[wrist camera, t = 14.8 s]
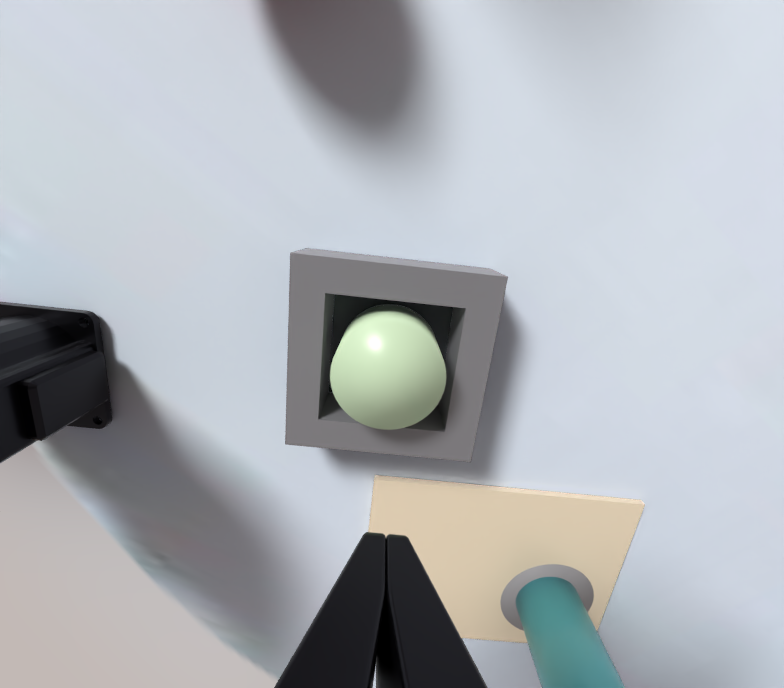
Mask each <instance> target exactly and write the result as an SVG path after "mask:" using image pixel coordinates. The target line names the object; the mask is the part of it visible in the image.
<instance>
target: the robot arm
mask: <svg viewBox="0 0 784 688" xmlns="http://www.w3.org/2000/svg"><path fill="white" fill-rule="evenodd" d="M85 318H86V319H87V320H88V322H89V325H88V324H86V323H85V320H84V319H85ZM109 397H110V396H109V388H108V380H107V373H106V365H105V357H104V351H103V344H102V336H101V328H100V321H99V318H98V317H97V315H96V314H94V313H93V312H90V311H84V310H74V309H64V308H55V307H45V306H36V305H26V304H17V303H7V302H0V463H2V462H3V461H5V460H6V459H8V458H10V457H11V456H13V455H15V454H16V453H18V452H20V451H21V450H23V449H24V448H26V447H28V446H29V445H31V444H33V443H34V442H36V441H38V440H40V441H42V440H45V439H46V438H48V437H49V436H51V435H53V434H54V433H56V432H58V431H59V430H61V429H62V428H64V427H66V426H75V427H86V428H96V429H102V428H104V427H106V426H107V425H108V424H110V423H111V421H112V413H111V405H110V398H109ZM98 417H100V418H101V419H102V421H101V420H100V419H99V418H98ZM375 666H376V688H487V686H486V684H485V682H484V680H483V678H482V676H481V674H480V673H479V671H478V669H477V667H476V665H475V663H474V661H473V659H472V657H471V655H470V654H469V652H468V650H467V648H466V646H465V644H464V642H463V640H462V638H461V637H460V635H459V633H458V631H457V629H456V627H455V625H454V623H453V621H452V619H451V618H450V616H449V614H448V612H447V610H446V608H445V606H444V604H443V602H442V601H441V599H440V597H439V595H438V593H437V591H436V589H435V587H434V585H433V583H432V582H431V580H430V578H429V576H428V574H427V572H426V570H425V568H424V566H423V565H422V563H421V561H420V559H419V557H418V555H417V553H416V551H415V549H414V547H413V546H412V544H411V542H410V540H409V538H408V537H407V536H405V535H395V534H388V535H387V536H385V535H384V534H383V533H373V532H366V533H365V534H364V535H363V536H362V538H361V540H360V541H359V543H358V545H357V547H356V548H355V550H354V552H353V553H352V555H351V557H350V559H349V560H348V562H347V564H346V565H345V567H344V569H343V571H342V572H341V574H340V576H339V577H338V579H337V581H336V583H335V584H334V586H333V588H332V589H331V591H330V593H329V595H328V596H327V598H326V600H325V601H324V603H323V605H322V607H321V608H320V610H319V612H318V613H317V615H316V617H315V619H314V620H313V622H312V624H311V625H310V627H309V629H308V631H307V632H306V634H305V636H304V637H303V639H302V641H301V643H300V644H299V646H298V648H297V650H296V651H295V653H294V655H293V656H292V658H291V660H290V662H289V663H288V665H287V667H286V668H285V670H284V672H283V674H282V675H281V677H280V679H279V680H278V682H277V684H276V686H275V687H274V688H372V687H373V680H374V673H375Z"/></svg>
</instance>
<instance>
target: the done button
mask: <svg viewBox="0 0 784 688" xmlns="http://www.w3.org/2000/svg"><path fill="white" fill-rule="evenodd" d="M330 382H331V387H332V391H333V394H334V396H335V398H336V400H337V402H338V404H339V405H340V406H341V408H342V409H343V410H344V411H345V412H346V413H347V414H348V415H349V416H350V417H352V418H353V419H354V420H356V421H358V422H359V423H361V424H364V425H366V426H369V427H372V428H376V429H383V430H393V429H400V428H405V427H408V426H411V425H413V424H415V423H418V422H419V421H421V420H422V419H424V418H425V417H426V416H428V415H429V414H430V413H431V412H432V411H433V410H434V409H435V407H436V406H437V405H438V403H439V401H440V399H441V398H442V395H443V392H444V389H445V385H446V368H445V363H444V360H443V357H442V354H441V352H440V349H439V346H438V343H437V341H436V338H435V335H434V333H433V331H432V329H431V327H430V325H429V324H428V322H427V321H426V320H425V319H424V318H423V317H422V316H421V315H419V314H418V313H417V312H415V311H414V310H412V309H409V308H407V307H404V306H401V305H396V304H382V305H377V306H373V307H371V308H368V309H366V310H364V311H363V312H361V313H360V314H358V315H357V316H356V317H355V318H354V319H353V320H352V321H351V322H350V324H349V325H348V327H347V328H346V330H345V333H344V335H343V337H342V339H341V342H340V344H339V346H338V349H337V351H336V353H335V355H334V358H333V360H332V364H331V370H330Z"/></svg>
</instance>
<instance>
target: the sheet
mask: <svg viewBox="0 0 784 688" xmlns="http://www.w3.org/2000/svg"><path fill="white" fill-rule="evenodd" d="M644 506H645V504H644V503H643V502H642V501H641V500H635V499H624V498H614V497H603V496H593V495H582V494H571V493H561V492H550V491H539V490H529V489H518V488H507V487H497V486H486V485H476V484H465V483H454V482H444V481H433V480H422V479H412V478H401V477H390V476H380V475H375V477H374V486H373V495H372V504H371V513H370V522H369V531H368V532H373V533H383V534H384V535H385V536H387V535H388V534H395V535H405V536H407V537H408V538H409V540H410V542H411V544H412V546H413V547H414V549H415V551H416V553H417V555H418V557H419V559H420V561H421V563H422V565H423V566H424V568H425V570H426V572H427V574H428V576H429V578H430V580H431V582H432V583H433V585H434V587H435V589H436V591H437V593H438V595H439V597H440V599H441V601H442V602H443V604H444V606H445V608H446V610H447V612H448V614H449V616H450V618H451V619H452V621H453V623H454V625H455V627H456V629H457V631H458V633H459V635H460V637H461V638H470V639H482V640H494V641H506V642H519V643H528V642H527V639H526V636H525V633H524V630H523V627H522V623H521V620H520V617H519V614H518V611H517V608H516V597H517V595H518V593H519V591H520V590H521V589H522V588H523V587H524V586H525V585H526V584H527V583H529V582H531V581H533V580H535V579H538V578H542V577H558V578H562V579H565V580H567V581H568V582H570V583H571V584H572V585H573V586H574V587H575V589H576V590H577V592H578V594H579V596H580V599H581V601H582V603H583V605H584V607H585V609H586V611H587V613H588V615H589V617H590V619H591V621H592V623H593V625H594V627H595V629H596V631H597V630H598V628H599V625H600V622H601V620H602V617H603V614H604V612H605V609H606V606H607V604H608V601H609V598H610V596H611V593H612V591H613V588H614V585H615V583H616V580H617V577H618V575H619V572H620V569H621V567H622V564H623V561H624V559H625V556H626V554H627V551H628V548H629V546H630V543H631V540H632V538H633V535H634V532H635V530H636V527H637V524H638V522H639V519H640V517H641V514H642V511H643V509H644Z"/></svg>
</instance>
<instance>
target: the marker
mask: <svg viewBox="0 0 784 688" xmlns="http://www.w3.org/2000/svg"><path fill="white" fill-rule="evenodd" d="M516 608H517V611H518V614H519V617H520V620H521V623H522V627H523V630H524V633H525V636H526V639H527V642H528V645H529V648H530V652H531V655H532V658H533V661H534V664H535V667H536V670H537V673H538V677H539V680H540V683H541V686H542V688H625V687H624V685H623V683H622V681H621V679H620V677H619V675H618V673H617V671H616V669H615V667H614V665H613V663H612V661H611V659H610V657H609V655H608V653H607V651H606V649H605V647H604V645H603V643H602V641H601V639H600V637H599V635H598V633H597V631H596V629H595V627H594V625H593V623H592V621H591V619H590V617H589V615H588V613H587V611H586V609H585V607H584V605H583V603H582V601H581V599H580V596H579V594H578V592H577V590H576V589H575V587H574V586H573V585H572V584H571V583H570V582H568V581H567V580H565V579H562V578H558V577H542V578H538V579H535V580H533V581H531V582H529V583H527V584H526V585H525V586H524V587H523V588H522V589H521V590H520V591H519V593H518V595H517V597H516Z"/></svg>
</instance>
